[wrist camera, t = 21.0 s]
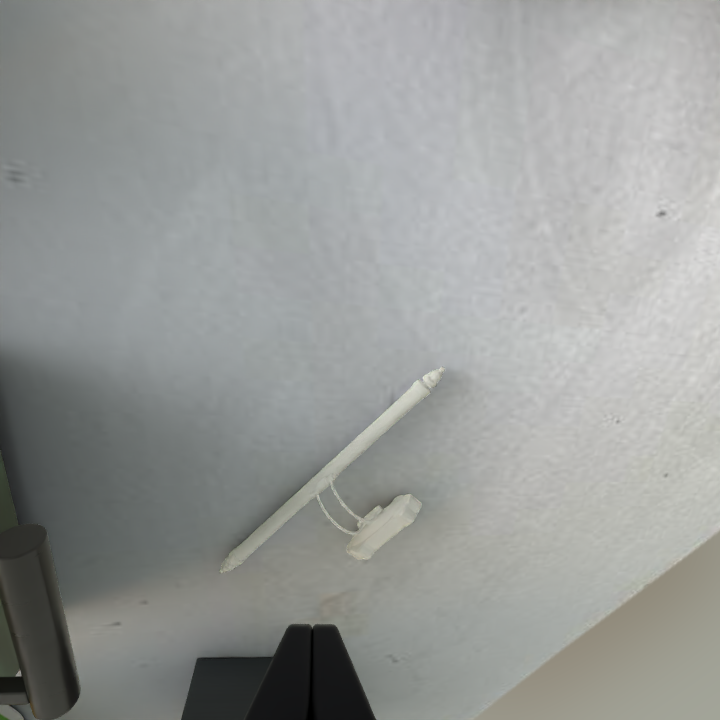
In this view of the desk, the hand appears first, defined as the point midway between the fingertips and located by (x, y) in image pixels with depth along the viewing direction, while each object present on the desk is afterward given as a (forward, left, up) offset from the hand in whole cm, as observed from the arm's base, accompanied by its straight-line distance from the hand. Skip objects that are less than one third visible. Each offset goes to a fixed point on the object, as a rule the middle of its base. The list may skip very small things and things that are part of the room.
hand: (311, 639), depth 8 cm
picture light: (-2, +6, -11) cm, 13 cm away
